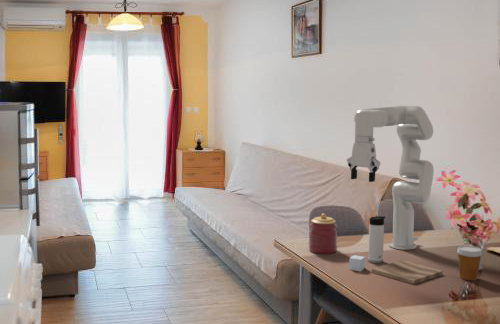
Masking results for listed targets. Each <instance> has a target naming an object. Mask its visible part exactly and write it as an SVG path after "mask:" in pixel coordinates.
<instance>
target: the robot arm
mask: <svg viewBox="0 0 500 324" xmlns="http://www.w3.org/2000/svg"><path fill="white" fill-rule="evenodd" d="M353 121H354V142H353V145H352V150H351V156H350V157H348V158H346V161H347V165H348V167H349V170H350V179H351V180H356V179H358V169H357V168H358V167H360V168H368V170H369V174H368V182H369V183H373V182H374V183H375V181H376V173H377V172H378V170H379V169H380V166H381V164H382V163H381V161H379V160H378V159H377V151H376V145H375V143H374V142H375V141H376V139H375V137H374V128H378V129H379V128H383V127H393V126H396V134H397V136H398V138H399V140H400V143H401V147H402V148H401V149H402V151H401V157H400V163H399V169H398V170H399V171H398V174H399V176H400V177H401V178H403V179H406V180H413V181H405V180H399V181H396V182H394V183H393V185H392V187H391V195H392V201H393V202H392V203H393V210H392V211H393V214H392V215H393V216H392V217H393V218H392V240H391V242H389V243H388V247H390V248H392V249H396V250H400V251H405V250H408V251H409V250H414V249H416V248H417V244H415V243H414V242H415V241H418V240H419V237H418V236H414V223H415V222H414V221H415V210H414V206H413V205H412V203H414V204H421V205H422V204H426V203H427V202H428V201H429V200H430V199H429V198H430V196H431V191H432V185H433V179H434V165H433V163H432V162H431V161H429V160H424V159H421V152H422V149H421V146H420V144H419V143H418V141H428V140H430V139H431V138H432V137H433V134H434V127H433V124H432V122H431V119H430V118H429V116H428V115H427V113H426V110H424V108H422V107H421V106H418V105H397V106H384V107H377V108H376V107H375V108H374V107H371V108H361V109H358V110H357V111H356V112H355V114H354V117H353ZM414 180H415V182H414ZM416 181H418V182H416Z"/></svg>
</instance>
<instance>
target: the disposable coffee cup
mask: <svg viewBox="0 0 500 324" xmlns="http://www.w3.org/2000/svg"><path fill="white" fill-rule="evenodd" d="M456 252H457V255H458V256H457V257H458V271H459V278H460V279H462V280H465V281H476V280H477V279H478V274H479V273H478V272H479V268H480V263H481V258H482V255H483V251H482V249H481V248H480V247H477V246H473V247H472V246H471V245H461V246H458V248H457V250H456Z"/></svg>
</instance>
